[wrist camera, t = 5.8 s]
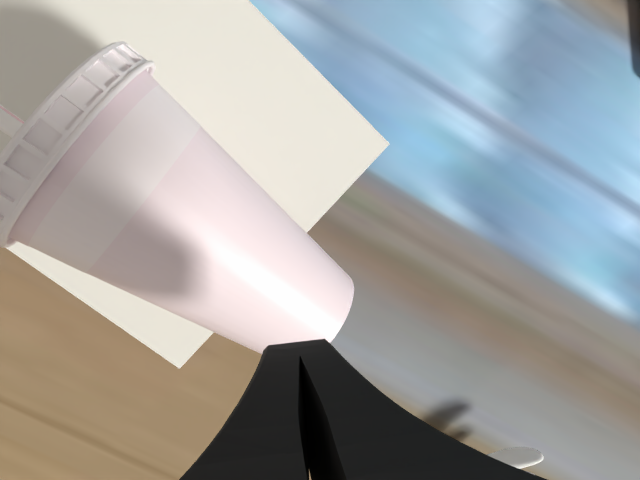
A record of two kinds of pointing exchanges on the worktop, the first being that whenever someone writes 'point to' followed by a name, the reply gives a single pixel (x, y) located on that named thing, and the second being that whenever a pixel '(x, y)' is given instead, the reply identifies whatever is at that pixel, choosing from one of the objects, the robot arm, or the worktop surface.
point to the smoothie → (161, 209)
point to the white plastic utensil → (518, 456)
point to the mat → (194, 116)
